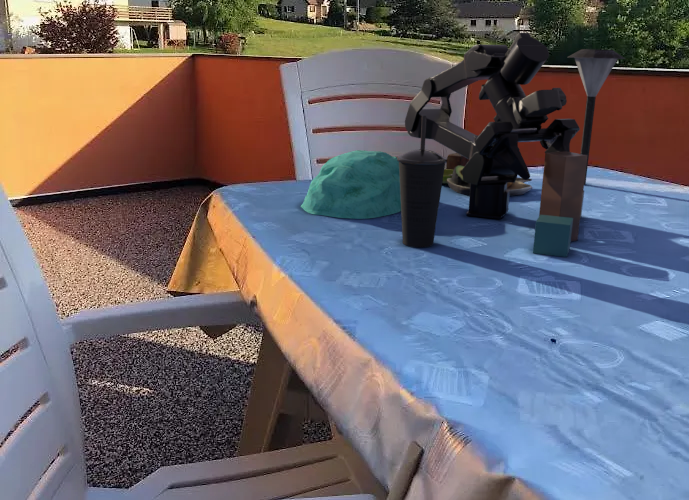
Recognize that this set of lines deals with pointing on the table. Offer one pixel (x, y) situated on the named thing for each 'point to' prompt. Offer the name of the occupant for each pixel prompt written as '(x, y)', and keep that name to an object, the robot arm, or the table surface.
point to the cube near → (552, 235)
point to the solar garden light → (593, 85)
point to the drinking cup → (420, 192)
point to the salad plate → (464, 187)
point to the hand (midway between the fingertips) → (549, 176)
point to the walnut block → (563, 187)
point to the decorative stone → (356, 186)
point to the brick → (455, 161)
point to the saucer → (447, 175)
